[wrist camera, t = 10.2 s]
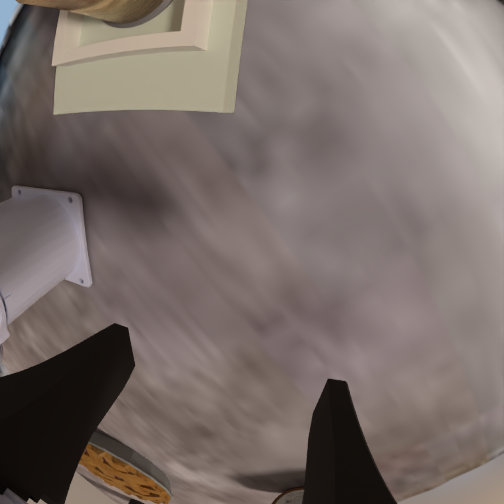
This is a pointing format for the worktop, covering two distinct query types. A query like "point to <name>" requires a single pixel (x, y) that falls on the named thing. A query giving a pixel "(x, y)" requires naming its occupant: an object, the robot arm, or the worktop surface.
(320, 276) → the worktop surface
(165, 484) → the pie
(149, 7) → the spout can
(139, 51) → the cream peg hole base
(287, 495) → the tin
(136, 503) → the travel mug
